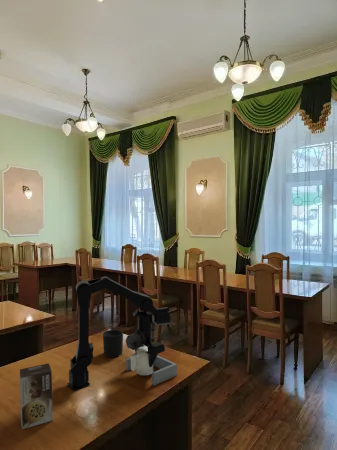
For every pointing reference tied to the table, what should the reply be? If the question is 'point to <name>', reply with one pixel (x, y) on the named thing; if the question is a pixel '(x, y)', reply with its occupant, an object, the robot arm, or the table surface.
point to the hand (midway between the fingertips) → (145, 364)
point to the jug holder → (165, 372)
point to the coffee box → (36, 395)
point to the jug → (141, 362)
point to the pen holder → (113, 343)
